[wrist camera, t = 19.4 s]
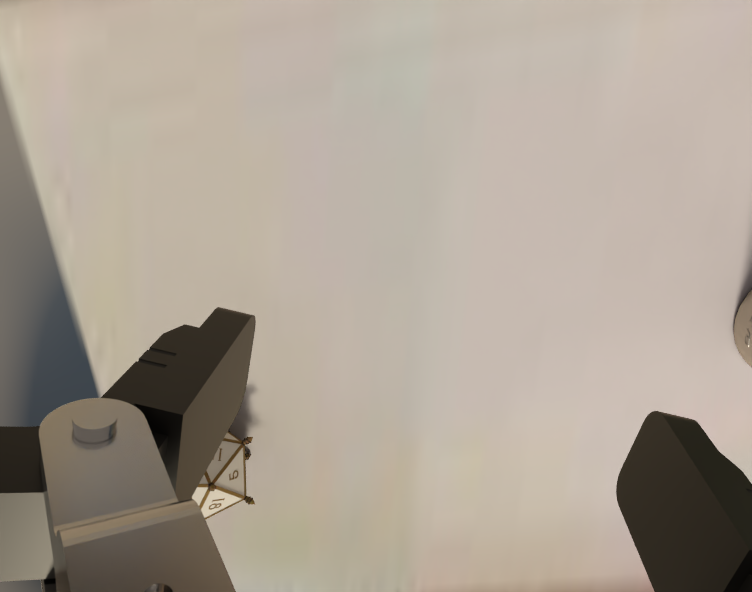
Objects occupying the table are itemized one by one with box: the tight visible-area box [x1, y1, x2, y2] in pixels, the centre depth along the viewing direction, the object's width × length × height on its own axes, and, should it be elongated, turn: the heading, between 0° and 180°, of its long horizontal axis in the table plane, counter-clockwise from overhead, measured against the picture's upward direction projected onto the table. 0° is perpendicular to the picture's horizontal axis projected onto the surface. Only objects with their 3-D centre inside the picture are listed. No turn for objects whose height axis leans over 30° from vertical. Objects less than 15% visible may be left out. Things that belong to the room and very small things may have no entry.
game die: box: [191, 432, 255, 519], centre depth 46 cm, size 9×8×10 cm
